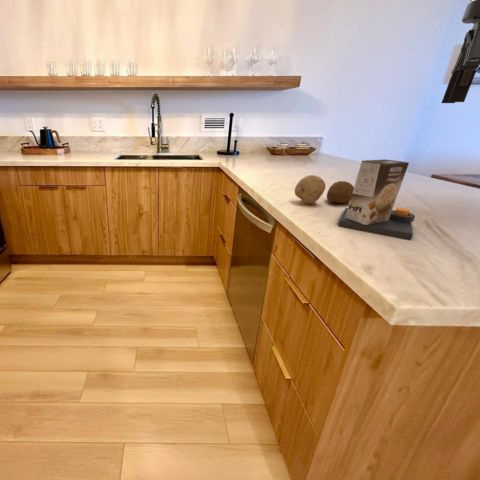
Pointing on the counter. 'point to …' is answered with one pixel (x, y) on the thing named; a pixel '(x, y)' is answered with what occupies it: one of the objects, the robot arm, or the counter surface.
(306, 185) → the light tan potato
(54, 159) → the counter surface
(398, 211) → the tare button
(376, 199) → the coffee box
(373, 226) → the scale
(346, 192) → the potato
